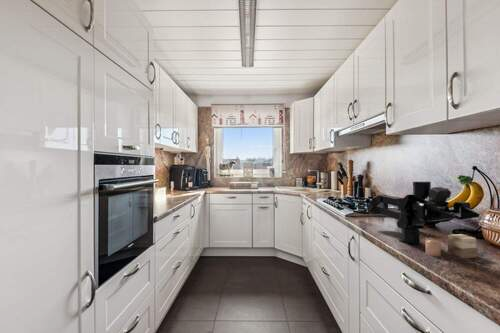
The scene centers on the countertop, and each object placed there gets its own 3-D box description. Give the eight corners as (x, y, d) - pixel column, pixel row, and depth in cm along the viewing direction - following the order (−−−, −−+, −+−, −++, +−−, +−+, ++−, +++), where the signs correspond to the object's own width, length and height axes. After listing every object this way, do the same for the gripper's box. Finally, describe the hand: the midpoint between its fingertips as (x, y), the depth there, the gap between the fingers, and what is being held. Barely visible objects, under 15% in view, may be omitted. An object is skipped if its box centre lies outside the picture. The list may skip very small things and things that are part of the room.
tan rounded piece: (422, 252, 96) (422, 239, 96) (433, 251, 97) (433, 238, 97) (432, 256, 92) (432, 243, 92) (443, 256, 92) (443, 242, 92)
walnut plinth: (447, 252, 96) (447, 243, 96) (462, 252, 96) (461, 243, 96) (462, 258, 90) (462, 248, 90) (477, 257, 90) (477, 248, 90)
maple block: (448, 243, 96) (448, 234, 96) (462, 243, 96) (461, 234, 96) (461, 248, 90) (461, 238, 90) (476, 247, 91) (475, 238, 91)
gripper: (405, 188, 97) (439, 192, 82) (449, 186, 99) (491, 190, 84) (406, 216, 97) (440, 226, 82) (450, 214, 99) (491, 224, 84)
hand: (466, 215), depth 83 cm, fingers open, 9 cm apart
